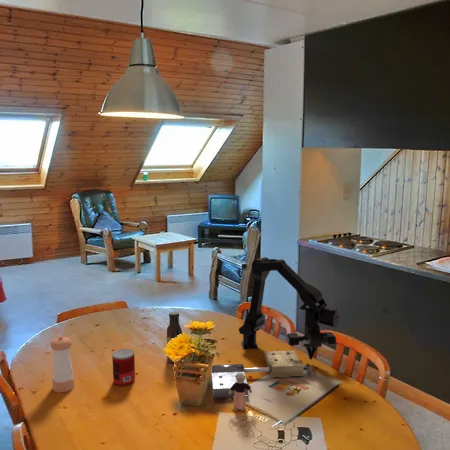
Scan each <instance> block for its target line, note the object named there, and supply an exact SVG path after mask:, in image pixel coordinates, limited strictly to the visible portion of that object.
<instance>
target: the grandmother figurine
mask: <svg viewBox="0 0 450 450" xmlns="http://www.w3.org/2000/svg"><path fill="white" fill-rule="evenodd" d="M245 378H246V374H245V375H244V374H243V373H241V372H240V373H237V374H236V380H237V382H236V383H234V385H233V386H232V387H231V388H230V390H229V392H228V394H229V395H230V394H231V393H232V391H233V390H235V393H234V397H233V407H232V408H231V410H232V412H238V411H239V410H240V411H241V412H243V411H246V410H247V408H246V407H245V406H246V396H245V389H247V390H248V394H249V393H250V394H252V393H253V390H252V387H251V385H249V384H248V383H247V384H246V383H244V380H245ZM246 379H247V378H246Z"/></svg>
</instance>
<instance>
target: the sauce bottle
mask: <svg viewBox="0 0 450 450" xmlns="http://www.w3.org/2000/svg"><path fill="white" fill-rule="evenodd" d="M168 317H169V325H168V326H167V328H166V344H167V343H168V342H169V341H170V340H171V339H172V338H175V337H177V335H179V334H182V335H183V331H182V327H181V325H180V312H178V311H170V312H169V313H168ZM166 359H167V362H168V363H171V364H174V363H173V361H172V360H171V359H170V358H169V357H168V356H167V355H166Z"/></svg>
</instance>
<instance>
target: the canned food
mask: <svg viewBox="0 0 450 450" xmlns="http://www.w3.org/2000/svg"><path fill="white" fill-rule="evenodd" d="M111 361H112V372H113V373H112V378H113V383H114V385H116V386H118V387H126V386H129V385H131V384H133V383H134V382H135V378H136V370H135V369H136V368H135V367H136V366H135V365H136V364H135V363H136V362H135V351H134V350H133V349H132V348H131V349H130V348H120V349H118V350H115V351H113V352H112V360H111Z"/></svg>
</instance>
